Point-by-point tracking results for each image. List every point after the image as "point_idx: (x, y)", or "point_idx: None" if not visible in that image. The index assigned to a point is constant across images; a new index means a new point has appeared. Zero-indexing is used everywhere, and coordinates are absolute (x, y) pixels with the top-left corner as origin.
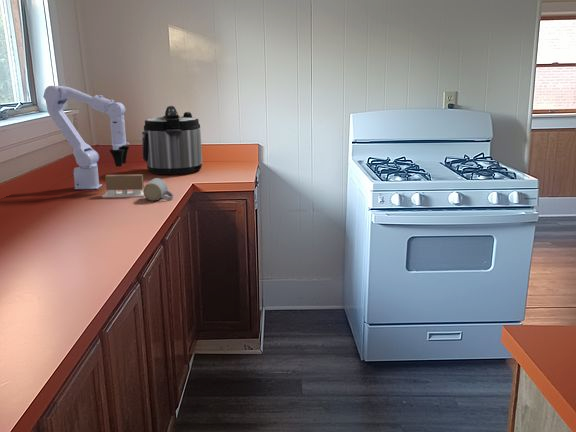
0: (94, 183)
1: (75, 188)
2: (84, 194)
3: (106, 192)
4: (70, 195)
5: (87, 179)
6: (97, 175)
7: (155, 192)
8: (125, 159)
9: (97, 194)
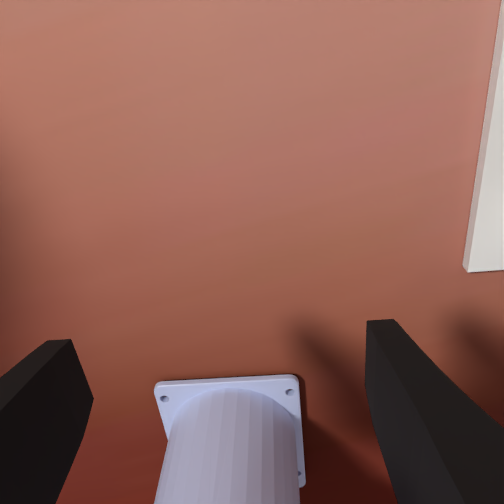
0: (274, 423)
1: (305, 482)
2: (469, 395)
3: (499, 269)
4: None
5: (298, 487)
6: (230, 465)
7: None
8: (33, 385)
9: (491, 320)
